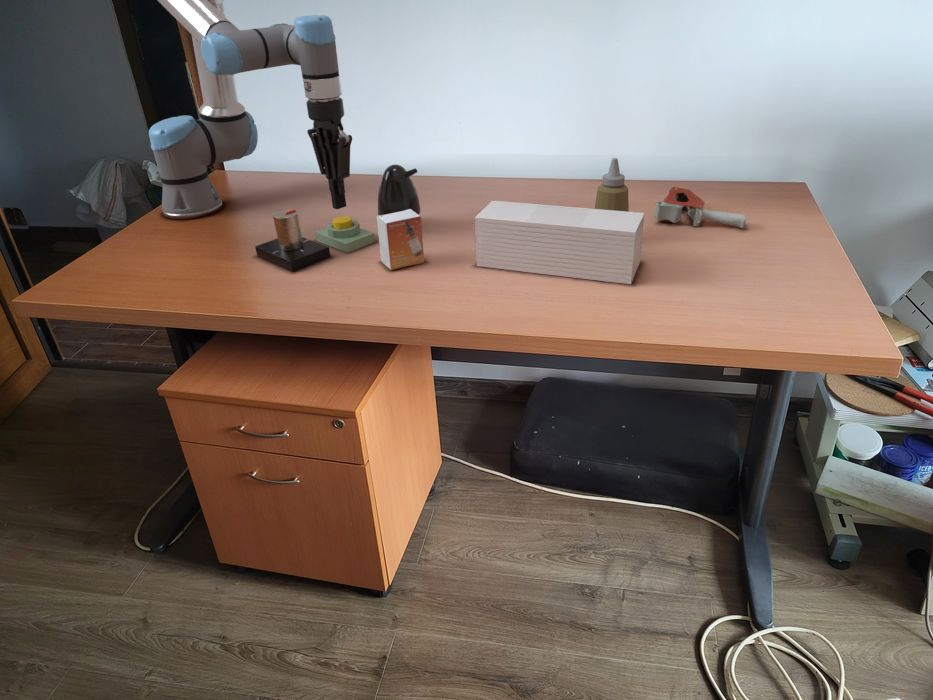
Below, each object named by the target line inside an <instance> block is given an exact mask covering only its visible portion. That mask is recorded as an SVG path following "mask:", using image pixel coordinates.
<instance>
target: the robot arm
mask: <svg viewBox="0 0 933 700" xmlns="http://www.w3.org/2000/svg"><path fill="white" fill-rule="evenodd" d="M224 1H225V0H157V2H158V3H159V4H161V6H162V7H163V8H164V9H165V10H166V11H167V12H169V14H170V15H171V16H172V17H174V19H176V21H177V22H178V23H179V24H180V25H181V26H182V27H183V28H184V29H185V30H186V31H187V32H188V33H189V34H190V35H191V39H192V46H193V52H194V57H195V61H196V62H195V63H196V69H197V74H198V81H199V83H200V84H199V86H200V91H201V96H202V105H200V106H199V108H198V114H199V119H195V118H194V117H193V116H192V115H178V116H171V117H169V118H165V119H162V120H160V121H158V122H156V123H154V124H153V125H152V126H151V127H150V128H149V130H148V137H149V141H150V148H151V150H152V153H153V156H154V159H155V163H156V167H157V170H158V172H159V177H160V180H161V184H162V193H161V194H162V195H161V210H162V215H163V216H164V217H165V218H167V219H172V220H189V219H197V218H201V217H205V216H208V215H211V214H214V213H216V212H218V211H220V210H221V209H222V208H223V206H224V203H223V200H222V198H221V196H220V194H219V192H218V191H217V189H216V186H214V184H213V183H212V181H211V179H210V177H209V174H208V169H207V167H209V166H213V165H217V164H222V163H225V162H226V163H227V162H230V161H234V160H240V159H242V158H245V157H248V156H251V155H252V154H253V153H254V151H256V148H257V146H258V141H259V136H258V135H259V134H258V127H257V124H256V123H255V119H254V117H253V116H252V114H251V113H250V112H248V111H247V110H246V107H245V106H244V105H243V104H242V103H241V102H239V99H238V91H237V85H236V78H235V75H237V74H242V73H246V72H253V71H257V70H263V69H270V68H277V67H282V66H283V67H284V66H291V65H294V66H300V70H301V71H300V72H301V77H302V81H303V89H304V94H305V98H306V99H307V100H306V102H305V104H306V109H307V116H308V118H309V119H310V120H311V121H313V122H312V125H313V126H312V128H308V129H307V135H308V137H309V139H310V141H311V143H312V148H313V152H314V154H315V158H316V161H317V166H318V168H319V172H320V174H321V175H322V176H323V175H324V176H325V178H326V179H327V181H328V189H329V192H330V197H331V204H332V209H335V210H339V209H343V208H346V207H347V200H346V187H345V179H347V178H349V177H350V175H351V174H350V173H351V145H352V142H353V136H352V135H351V134H347V133H346V132H345V131H344V125H343V123H342V118H343V117H344V116H345V107H344V99H343V98H342V97H341V96H342V95H343V90H342V82H341V77H340V72H339V71H340V69H339V61H338V60H339V59H338V53H337V43H336V34H335V32H334V26H333V21H332V19H331V17H330V16H328V15H324V14H310V15H301V16H300V15H299V16H297V17H295V18H294V20H293V24H288V23H284V22H283V23H275V24H271V25H269V26H267V27H260V28H259V27H258V28H250V29H239V28H238V27H237V26H236V25H235V24H234V23H232V22H231V21H230V20H229V19H228V18H227V17H226V11H225V9H226V8H225V4H224Z"/></svg>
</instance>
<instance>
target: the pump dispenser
mask: <svg viewBox="0 0 933 700" xmlns="http://www.w3.org/2000/svg"><path fill="white" fill-rule="evenodd" d="M417 173H418V169H417V168H412V169H410V170H407V169H406V168H405V167H404V166H402V165H400V164H391V165H389V166H387V167H386V168H385V169H384V172H383V173H382V176H381V179H380V183H379V187H378V193H377V216H379V215H386V214H391V213H396V212H400V211H405V210H408V209H411V210H413V211H414V212H415V213H417V214H418V215H420V214H421V212H422V211H421V204H420V199H419V195H418V192H417V188H416V186H415V183H414V182H413V180H412V178H411V177H413V176H414V175H415V174H417Z"/></svg>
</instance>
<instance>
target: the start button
mask: <svg viewBox="0 0 933 700" xmlns="http://www.w3.org/2000/svg"><path fill="white" fill-rule="evenodd" d="M352 220H353V218H352V217H351V216H348V215H344V216H337V217H334V218H333V219H332V222H333V227H334V228H335V229H346V228H350V227H352V226H353V224H352Z"/></svg>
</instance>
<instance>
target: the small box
mask: <svg viewBox="0 0 933 700" xmlns="http://www.w3.org/2000/svg"><path fill="white" fill-rule="evenodd" d="M376 225H377V234H378V235H377V236H378V243H379V251H380V261H381V263H382V264H383V265H384V266H386V267H387V268H388V269H389V270H390V271H394V270H397V269H401V268H404V267H405V268H406V267H409V266H415V265H419V264H424V263H425V254H424V253H425V252H424V251H425V250H424V240H423V239H424V238H423V227H422V217H421V215H420V214H419V215H418V214H417V213H415V212H414V211H413V210H411V209H408V210H405V211H400V212H396V213H391V214H386V215H379V216H378V215H376Z"/></svg>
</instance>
